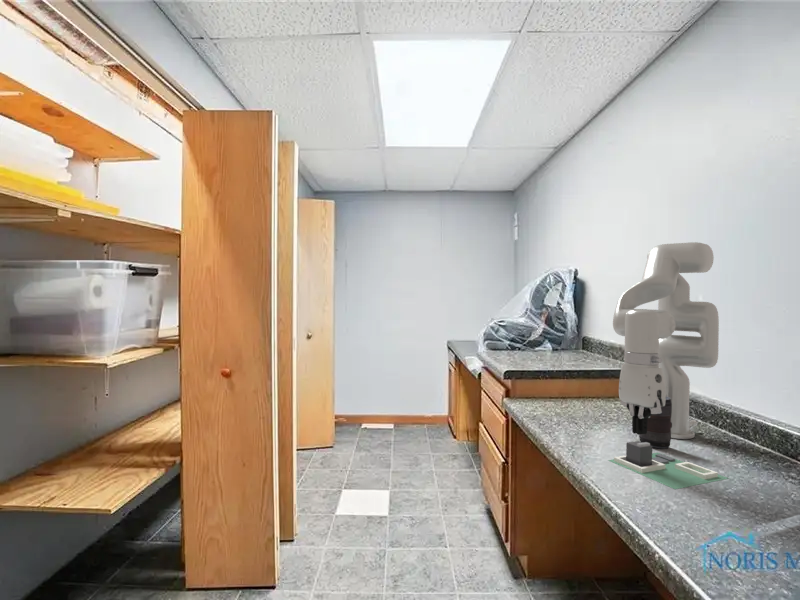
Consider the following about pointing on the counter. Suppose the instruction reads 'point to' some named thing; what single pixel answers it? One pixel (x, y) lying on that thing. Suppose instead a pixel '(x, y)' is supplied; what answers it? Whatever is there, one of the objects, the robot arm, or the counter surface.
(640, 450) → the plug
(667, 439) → the camera lens
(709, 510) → the counter surface
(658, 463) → the board
